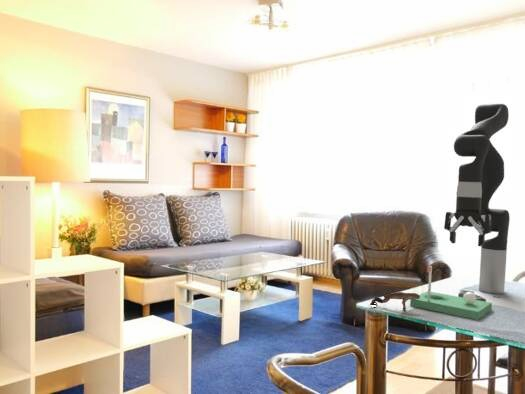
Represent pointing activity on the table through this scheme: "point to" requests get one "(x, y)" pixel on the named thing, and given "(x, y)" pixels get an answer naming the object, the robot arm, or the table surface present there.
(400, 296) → the toy
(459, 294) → the rock
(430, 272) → the pin
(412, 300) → the green
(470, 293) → the ball
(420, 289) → the table surface
